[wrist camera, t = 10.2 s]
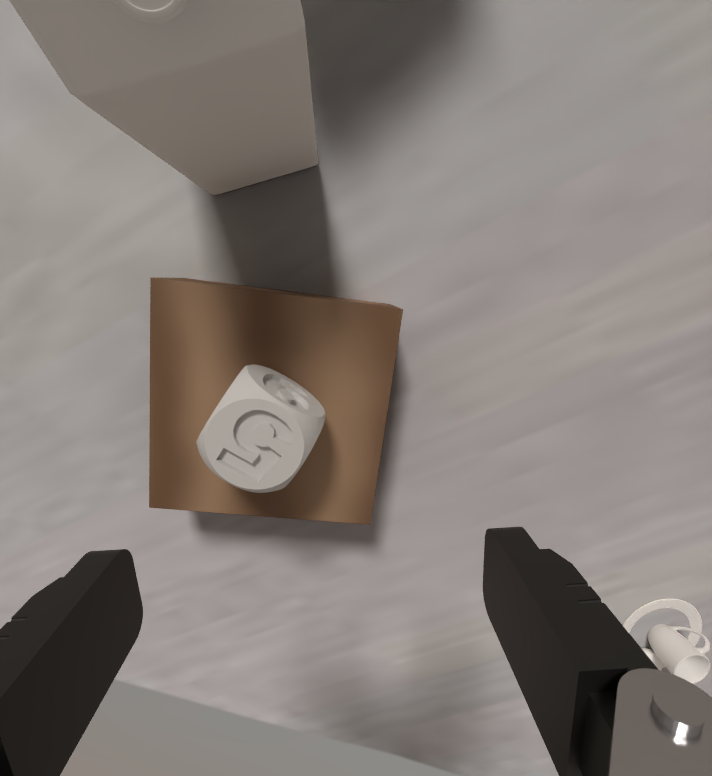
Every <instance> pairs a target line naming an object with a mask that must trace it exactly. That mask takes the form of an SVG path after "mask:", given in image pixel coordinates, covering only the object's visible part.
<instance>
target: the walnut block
mask: <svg viewBox="0 0 712 776" xmlns="http://www.w3.org/2000/svg"><path fill="white" fill-rule="evenodd" d="M402 313H403V309H400V308H398V307H395V306H393V305H390V304H384V303H376V302H368V301H360V300H352V299H344V298H337V297H329V296H321V295H313V294H305V293H297V292H289V291H282V290H274V289H266V288H258V287H250V286H242V285H234V284H226V283H219V282H211V281H203V280H195V279H187V278H151V304H150V477H149V507H150V508H163V509H176V510H189V511H202V512H215V513H227V514H240V515H253V516H266V517H279V518H292V519H305V520H318V521H331V522H344V523H357V524H369V525H370V523H371V517H372V510H373V503H374V497H375V490H376V484H377V477H378V470H379V464H380V457H381V451H382V444H383V438H384V431H385V424H386V418H387V411H388V405H389V398H390V392H391V385H392V378H393V372H394V365H395V359H396V352H397V345H398V339H399V332H400V326H401V319H402ZM247 365H261V366H264V367H267V368H270V369H272V370H275V371H277V372H279V373H281V374H283V375H284V376H286V377H288V378H290V379H291V380H293V381H295V382H296V383H298V384H299V385H300V386H302V387H303V388H304V389H306V390H307V391H308V392H309V393H311V394H312V395H313V396H314V397H315V398H316V399H317V400H318V401H319V402H320V404H321V405H322V406H323V408H324V411H325V415H326V417H325V422H324V425H323V427H322V430H321V432H320V434H319V436H318V438H317V440H316V442H315V444H314V446H313V448H312V450H311V452H310V453H309V455H308V457H307V458H306V460H305V462H304V463H303V465H302V466H301V468H300V469H299V471H298V472H297V473H296V475H295V476H294V478H293V479H292V480H291V481H290V482H289V484H288V485H287V486H286V487H284V488H283V489H280V490H277V491H273V492H265V493H256V492H250V491H246V490H243V489H240V488H237V487H235V486H233V485H231V484H229V483H228V482H226V481H224V480H223V479H221V478H220V477H218V476H217V475H216V474H215V473H214V472H212V471H211V470H210V469H209V468H208V466H207V465H206V464H205V463H204V461H203V459H202V458H201V455H200V453H199V450H198V447H197V443H196V441H197V439H198V437H199V435H200V433H201V431H202V430H203V428H204V426H205V425H206V423H207V421H208V420H209V418H210V416H211V415H212V413H213V412H214V410H215V408H216V407H217V405H218V404H219V402H220V401H221V399H222V398H223V396H224V395H225V393H226V392H227V390H228V389H229V387H230V386H231V384H232V383H233V381H234V380H235V379H236V377H237V376H238V374H239V373H240V372H241V370H242V369H243V368H244V367H245V366H247Z"/></svg>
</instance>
